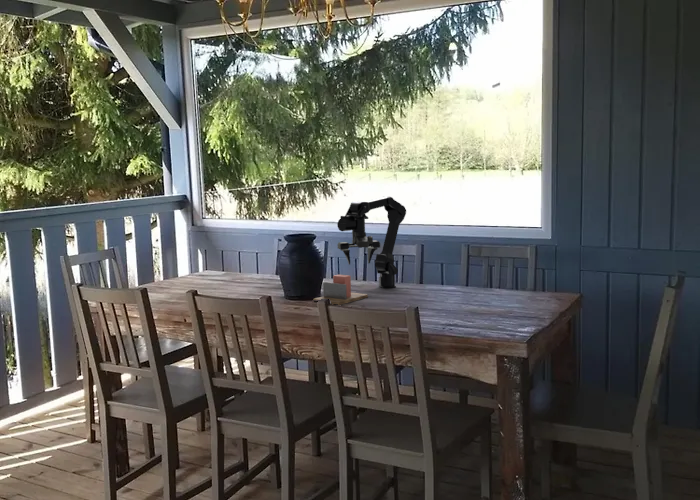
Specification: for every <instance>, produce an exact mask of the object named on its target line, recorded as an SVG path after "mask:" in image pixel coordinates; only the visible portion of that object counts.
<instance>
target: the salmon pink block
mask: <svg viewBox="0 0 700 500" xmlns="http://www.w3.org/2000/svg"><path fill="white" fill-rule="evenodd" d="M351 277H352V276H351V275H347V274H336V275H333V276H332V281H333V282H332V283H339V284H346V293H347V297H350V296H351V292H352V288H351V287H352V285H351V284H352V283H351V281H352V280H351Z"/></svg>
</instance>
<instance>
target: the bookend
mask: <svg viewBox="0 0 700 500" xmlns="http://www.w3.org/2000/svg"><path fill="white" fill-rule="evenodd" d="M322 288H323V289H322V290H323V291H322V292H323V294H322V295H323V296H324V297H328V298H335V299H343V300H346V299H347V293H346V284H339V283H333V282H330V281H323V282H322Z"/></svg>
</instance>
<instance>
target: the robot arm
mask: <svg viewBox="0 0 700 500" xmlns="http://www.w3.org/2000/svg"><path fill="white" fill-rule="evenodd" d="M383 207H384V210H385V211H386V212H387V220H388V226H387V230H386V234H385V237H384V240H383V241H384V242H383V246H382V250H381V252H380V253H377V254H376V255H375V256H376V257H375V260H374V267H375V269H376V273H377V274H379V277H378V286H379V287H380V288H383V289H387V288H388V289H389V288H396V287H397V285H395V283H396V280H395V278H396V277H395V276H396V275H397V274H398V271H399V269H398V268H397V267H396V266H395V265H394V264H395V259H394V255H393V253H394V248H395V243H396V239H397V236H398V232H399V226H400V224H402V222H403V221H404V220H405V217H406V215H407V209H406V207H405V206H404V205H402V203H400V202H399V201H397V200H396V199H394V198H393V197H392V196H382V197H379V198H375V199H371V200H366V201H352V202H350V205H349V208H348V209H347V212H346V213H345V215H340V219H338V222H337V223H336V224H337V229H338V230H339V231H340V232H348V231H351V234H352V237H351V238H352V240H351V243H349V242H347V241H340V242H339V241H338V242H337V249H338V250H340V251H342V252H343V254H344V255H345V258H346V261H347V263H348V266H349V265H351V255H350V253H351V250H350V249H349V248H358V249H361V248H367V263H368V264H370V263H371V261H372V258H373V255H374V252H375V251H376V250H378V248H379V249H380V248H381V242H380V241H379V240H374V239H373V236H372V235H369V236H367V233H366V220H368V219H369V217H368V216H367V215H366V214H369V212H370V211H371V210H375V209H379V208H383Z"/></svg>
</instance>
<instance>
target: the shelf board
mask: <svg viewBox="0 0 700 500" xmlns="http://www.w3.org/2000/svg"><path fill="white" fill-rule="evenodd" d="M368 297H369V296H368V294H367V293H359V292H358V293H357V292H352V291H351V296H350V297H347V299H346V300H343V299H335V298H328V297H324V296H320V297H315V298H312V299H313V300H321V299H330V301H331V303H332V304H331V305H334V304H338V305H337V306H340V305H344V304H349V303H352V302H355V301H359V300H362V299H366V298H368Z"/></svg>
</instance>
